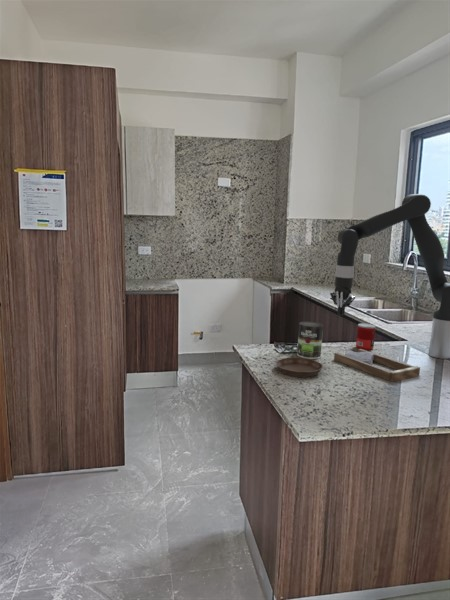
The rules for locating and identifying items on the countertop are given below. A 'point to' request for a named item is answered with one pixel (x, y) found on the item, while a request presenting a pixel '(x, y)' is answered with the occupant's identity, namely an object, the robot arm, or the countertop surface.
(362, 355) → the stone block
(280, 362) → the plant saucer
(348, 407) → the countertop surface
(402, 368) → the wooden serving tray
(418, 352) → the countertop surface
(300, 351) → the coffee can
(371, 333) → the canned food
